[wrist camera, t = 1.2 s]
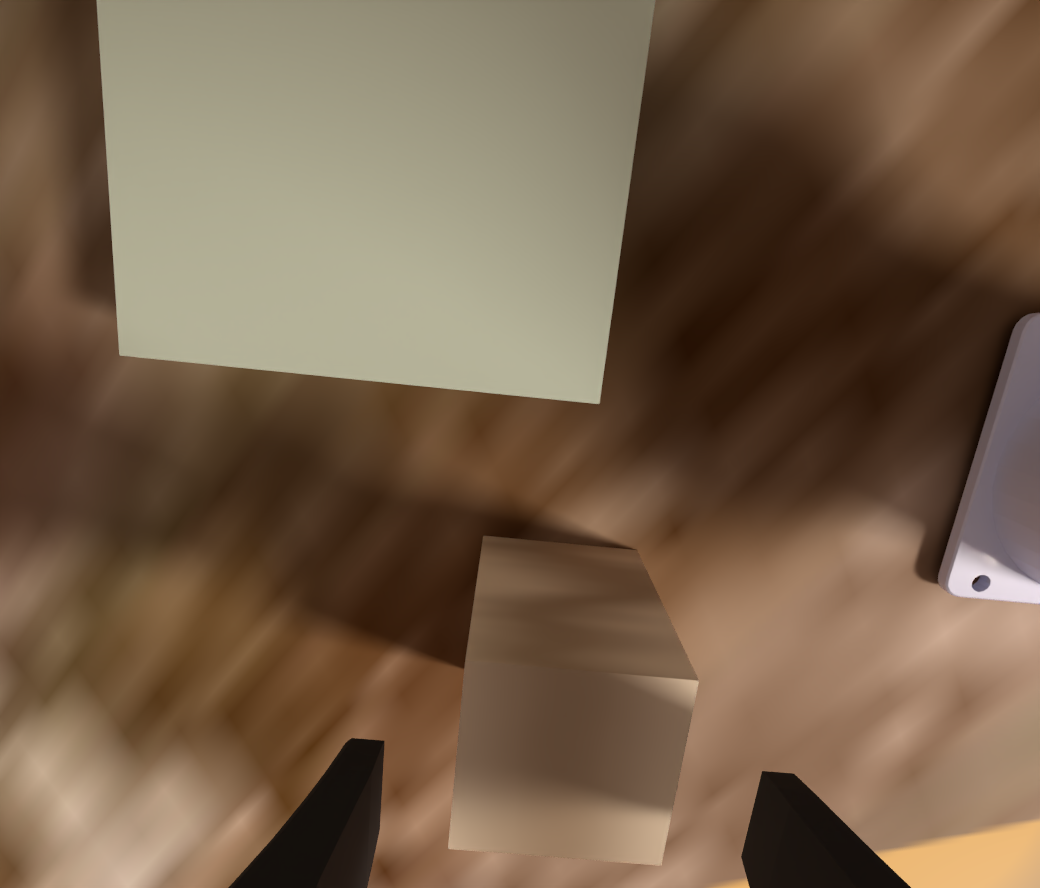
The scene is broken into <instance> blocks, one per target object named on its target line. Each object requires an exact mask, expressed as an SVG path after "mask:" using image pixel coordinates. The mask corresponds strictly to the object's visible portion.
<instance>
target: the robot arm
mask: <svg viewBox="0 0 1040 888" xmlns="http://www.w3.org/2000/svg"><path fill="white" fill-rule="evenodd" d="M979 575H980V578H979V579H978V581H977V582H976V583H974V584H973V585H972V582H973V580H974V579H975V578H976V577H977V576H979ZM938 582H939V585H940V586H941V587H942V588H943V589H944V590H945V591H947V592H948V593H950V594H951V595H954V596H957V597H966V598H977V599H987V600H998V601H1009V602H1020V603H1030V604H1040V313H1031V314H1028V315H1026V316H1024V317H1022V318H1021V319H1020V320H1019V321H1018V322H1017V323H1016V325H1015V327H1014V329H1013V332H1012V335H1011V338H1010V341H1009V345H1008V348H1007V351H1006V355H1005V358H1004V361H1003V364H1002V368H1001V371H1000V374H999V377H998V381H997V384H996V387H995V391H994V394H993V397H992V400H991V404H990V407H989V410H988V414H987V417H986V420H985V423H984V427H983V430H982V433H981V436H980V440H979V443H978V446H977V450H976V453H975V456H974V459H973V463H972V466H971V469H970V473H969V476H968V479H967V482H966V486H965V489H964V492H963V496H962V499H961V502H960V505H959V509H958V512H957V515H956V518H955V522H954V525H953V528H952V532H951V535H950V538H949V541H948V545H947V548H946V551H945V555H944V558H943V561H942V564H941V568H940V571H939V574H938ZM383 758H384V741H380V740H367V739H355V738H352V739H350V740H349V741H348V742H346V743H345V745H344V746H343V748H342V749H341V751H340V752H339V754H338V755H337V757H336V758H335V759H334V761H333V762H332V764H331V765H330V766H329V768H328V769H327V771H326V772H325V773H324V775H323V776H322V777H321V779H320V780H319V781H318V783H317V784H316V785H315V787H314V788H313V789H312V791H311V792H310V793H309V795H308V796H307V797H306V798H305V800H304V801H303V802H302V803H301V805H300V806H299V807H298V808H297V810H296V811H295V812H294V813H293V814H292V816H291V817H290V818H289V819H288V821H287V822H286V823H285V824H284V825H283V827H282V828H281V829H280V830H279V832H278V833H277V834H276V835H275V836H274V838H273V839H272V840H271V841H270V842H269V843H268V844H267V846H266V847H265V848H264V849H263V850H262V851H261V852H260V853H259V855H258V856H257V857H256V858H255V859H254V860H253V861H252V862H251V863H250V865H249V866H248V867H247V868H246V869H245V870H244V871H243V872H242V873H241V875H240V876H239V877H238V878H237V879H236V880H235V881H234V882H233V883H232V884H231V886H230V887H229V888H367V886H368V881H369V877H370V872H371V867H372V863H373V858H374V853H375V849H376V844H377V839H378V834H379V830H380V812H381V794H382V776H383ZM741 857H742V861H743V865H744V868H745V872H746V876H747V879H748V883H749V887H750V888H911V887H910V886H909V885H908V884H907V883H906V882H904V880H902V879H901V878H900V877H899V876H898V875H897V874H896V873H895V872H894V871H893V870H892V869H891V868H890V867H889V866H888V865H887V864H886V863H885V862H884V861H883V860H882V859H881V858H879V857H878V856H877V855H876V854H875V853H874V852H873V851H872V850H871V849H870V848H869V847H868V846H867V845H866V844H865V843H864V842H863V841H862V840H861V839H860V838H859V837H858V836H857V835H856V834H855V833H854V832H853V831H852V830H851V829H850V828H849V827H848V826H847V825H846V824H845V823H844V822H843V821H842V820H841V819H840V818H839V817H838V816H837V815H836V814H835V813H834V812H833V811H832V810H831V809H830V808H829V807H828V806H827V805H826V804H825V803H824V802H823V801H822V800H821V799H820V798H819V797H818V796H817V795H816V794H815V793H814V792H813V791H811V790H810V789H809V788H808V787H807V786H806V785H805V784H804V783H803V782H802V781H801V780H800V779H799V778H798V777H797V776H796V775H794V774H791V773H778V772H766V771H762V775H761V779H760V783H759V787H758V791H757V795H756V799H755V803H754V807H753V811H752V815H751V819H750V824H749V828H748V832H747V836H746V840H745V844H744V848H743V852H742V856H741Z"/></svg>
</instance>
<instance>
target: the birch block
mask: <svg viewBox="0 0 1040 888" xmlns="http://www.w3.org/2000/svg"><path fill="white" fill-rule="evenodd" d="M698 683H699V680H698V678H697V676H696V673H695V671H694V669H693V667H692V665H691V663H690V661H689V659H688V657H687V654H686V652H685V650H684V648H683V646H682V644H681V642H680V640H679V638H678V635H677V633H676V631H675V629H674V627H673V625H672V623H671V621H670V619H669V617H668V614H667V612H666V610H665V608H664V606H663V604H662V602H661V600H660V598H659V595H658V593H657V591H656V589H655V587H654V585H653V583H652V581H651V579H650V576H649V574H648V572H647V570H646V568H645V566H644V564H643V562H642V560H641V558H640V555H639V553H638V551H637V550H632V549H621V548H610V547H600V546H589V545H579V544H568V543H557V542H547V541H536V540H525V539H515V538H504V537H494V536H483V541H482V548H481V555H480V562H479V568H478V575H477V582H476V589H475V596H474V603H473V610H472V617H471V624H470V631H469V638H468V645H467V652H466V659H465V669H464V680H463V691H462V702H461V713H460V724H459V735H458V746H457V756H456V767H455V778H454V789H453V800H452V811H451V822H450V833H449V844H448V849H456V850H469V851H482V852H494V853H507V854H520V855H533V856H545V857H558V858H571V859H584V860H596V861H609V862H622V863H635V864H647V865H660V866H661V864H662V859H663V854H664V849H665V844H666V839H667V834H668V829H669V825H670V820H671V815H672V810H673V805H674V800H675V795H676V790H677V786H678V781H679V776H680V771H681V766H682V761H683V756H684V751H685V746H686V742H687V737H688V732H689V727H690V722H691V717H692V712H693V707H694V703H695V698H696V693H697V688H698Z"/></svg>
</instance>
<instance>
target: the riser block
mask: <svg viewBox="0 0 1040 888" xmlns="http://www.w3.org/2000/svg"><path fill="white" fill-rule="evenodd" d="M654 6H655V0H97V15H98V31H99V47H100V62H101V78H102V93H103V109H104V124H105V140H106V155H107V171H108V186H109V202H110V217H111V233H112V248H113V264H114V279H115V295H116V310H117V326H118V341H119V355H121V356H131V357H140V358H150V359H160V360H170V361H180V362H190V363H199V364H209V365H219V366H229V367H239V368H249V369H259V370H268V371H278V372H288V373H298V374H308V375H318V376H328V377H337V378H347V379H357V380H367V381H377V382H387V383H396V384H406V385H416V386H426V387H436V388H446V389H456V390H465V391H475V392H485V393H495V394H505V395H515V396H524V397H534V398H544V399H554V400H564V401H574V402H584V403H593V404H599V403H600V396H601V389H602V382H603V374H604V367H605V360H606V353H607V346H608V338H609V331H610V324H611V317H612V310H613V302H614V295H615V288H616V281H617V273H618V266H619V259H620V252H621V245H622V237H623V230H624V223H625V216H626V208H627V201H628V194H629V187H630V180H631V172H632V165H633V158H634V151H635V144H636V136H637V129H638V122H639V115H640V107H641V100H642V93H643V86H644V79H645V71H646V64H647V57H648V50H649V42H650V35H651V28H652V21H653V14H654Z"/></svg>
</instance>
